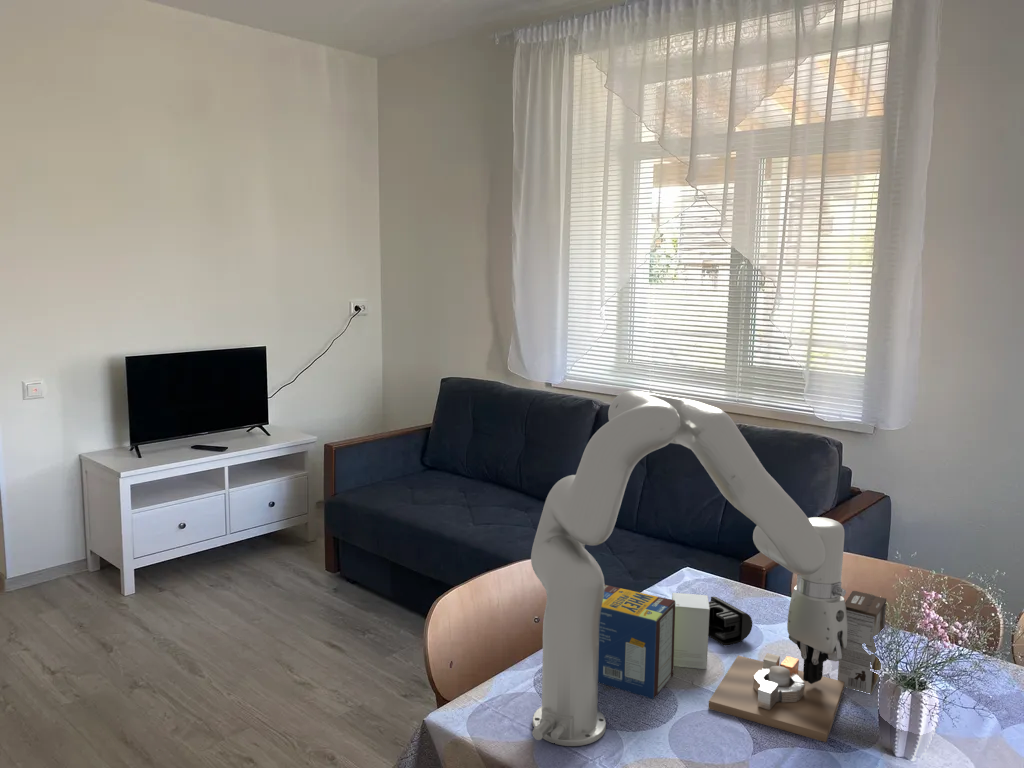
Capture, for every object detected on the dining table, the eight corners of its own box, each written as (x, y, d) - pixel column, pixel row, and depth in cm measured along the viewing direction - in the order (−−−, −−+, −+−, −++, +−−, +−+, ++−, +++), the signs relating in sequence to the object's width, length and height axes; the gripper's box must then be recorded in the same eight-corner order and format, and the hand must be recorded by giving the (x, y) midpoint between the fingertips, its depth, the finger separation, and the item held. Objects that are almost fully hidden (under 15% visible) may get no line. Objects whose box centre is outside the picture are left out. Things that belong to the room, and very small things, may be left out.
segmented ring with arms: (787, 716, 138) (788, 699, 137) (740, 700, 143) (741, 683, 142) (814, 680, 150) (815, 664, 150) (770, 666, 155) (771, 651, 155)
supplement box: (707, 670, 157) (710, 609, 155) (669, 666, 158) (671, 606, 157) (706, 653, 164) (708, 594, 162) (669, 649, 166) (671, 591, 164)
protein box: (601, 655, 162) (603, 583, 160) (673, 676, 155) (677, 600, 152) (578, 677, 154) (580, 601, 151) (654, 700, 146) (657, 620, 144)
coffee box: (847, 666, 159) (852, 589, 157) (881, 676, 155) (888, 597, 153) (835, 685, 152) (841, 604, 149) (871, 696, 148) (878, 613, 146)
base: (826, 742, 133) (828, 711, 132) (708, 708, 143) (709, 679, 142) (844, 689, 150) (846, 661, 149) (737, 662, 160) (739, 636, 159)
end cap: (752, 641, 170) (753, 611, 169) (726, 647, 167) (727, 617, 166) (720, 622, 179) (721, 593, 178) (695, 628, 175) (696, 599, 174)
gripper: (868, 595, 141) (860, 692, 143) (797, 569, 153) (792, 658, 156) (841, 605, 137) (834, 704, 140) (771, 576, 149) (766, 668, 152)
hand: (812, 679), depth 148 cm, fingers closed
